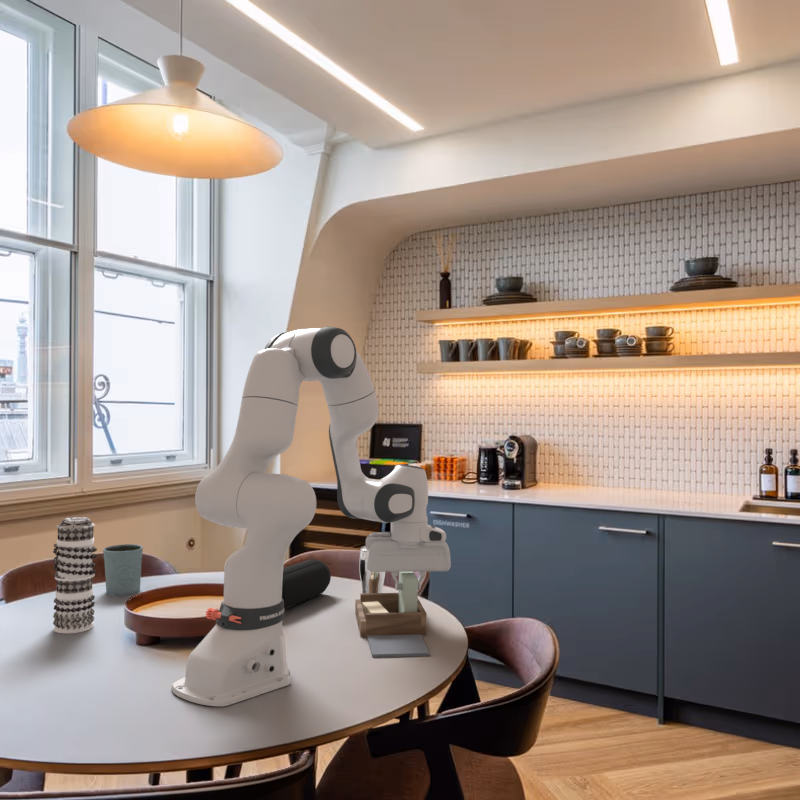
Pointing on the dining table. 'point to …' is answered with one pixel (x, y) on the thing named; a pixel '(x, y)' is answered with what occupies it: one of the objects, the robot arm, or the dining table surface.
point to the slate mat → (397, 645)
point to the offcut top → (373, 607)
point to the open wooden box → (389, 617)
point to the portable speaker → (304, 581)
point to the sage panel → (408, 592)
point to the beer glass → (369, 575)
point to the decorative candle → (74, 576)
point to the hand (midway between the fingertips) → (407, 589)
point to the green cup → (123, 569)
